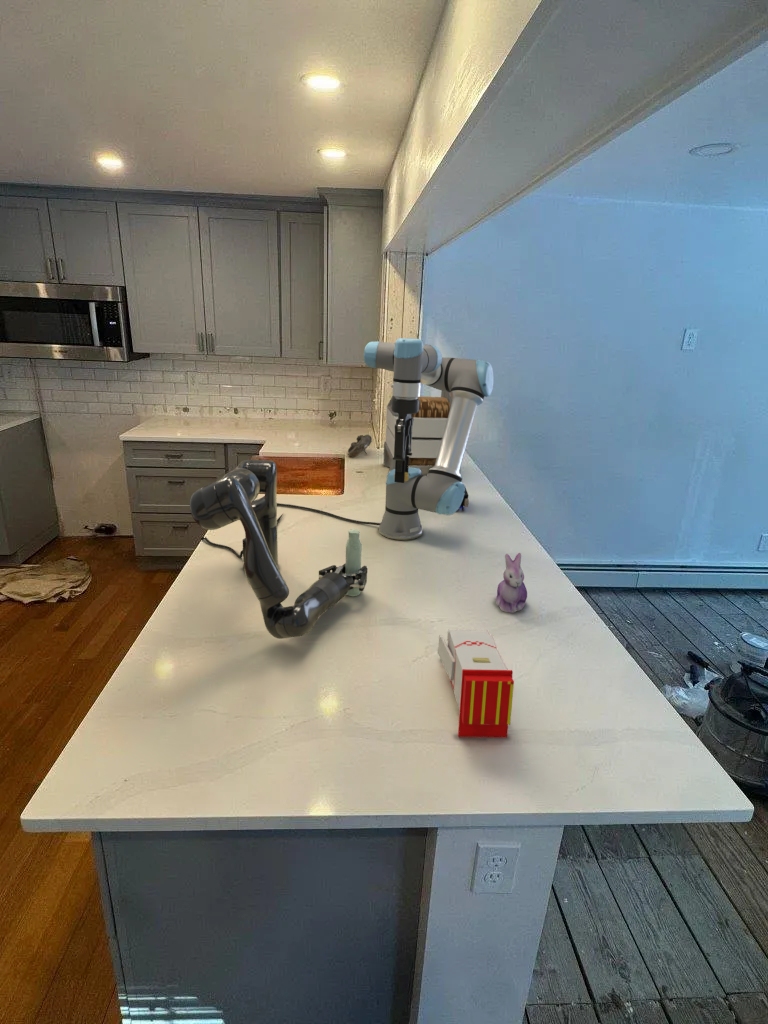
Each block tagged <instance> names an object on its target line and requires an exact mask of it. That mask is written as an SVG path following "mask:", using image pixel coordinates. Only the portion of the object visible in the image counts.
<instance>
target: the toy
mask: <svg viewBox="0 0 768 1024" xmlns="http://www.w3.org/2000/svg"><path fill="white" fill-rule="evenodd" d="M446 640H447V643H446V641H445V639H444V636H443V635H442V634H439V637H438V646H437V656H438V657H439V659H440V661H441V663H442V666H443V668H444V670H445V672H446V674H447V677H448V679H449V681H450V684H451V687H452V690H453V693H454V697H455V701H456V705H457V708H458V711H459V714H458V715H459V716H458V730H457V731H458V732H457V737H458V738H508V731H509V726H510V725H511V717H512V707H513V697H514V696H513V695H514V684H515V680H514V679H513V673H514V671H513V670H512V669H508V667H507V665H506V662H505V661H504V659H503V658H502V655H501V653H500V651H499V649H498V647H497V643H496V639H495V637H494V635H493V634H491V632H490V631H489V629H467V628H466V629H465V628H463V629H461V628H460V629H459V628H448V630H447V639H446Z"/></svg>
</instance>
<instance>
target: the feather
mask: <svg viewBox="0 0 768 1024" xmlns="http://www.w3.org/2000/svg"><path fill="white" fill-rule="evenodd" d="M283 515H284V513H282V514H281V515H280V516H279V517H277V525H279V522H280V520H281V519H282V517H283Z"/></svg>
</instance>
